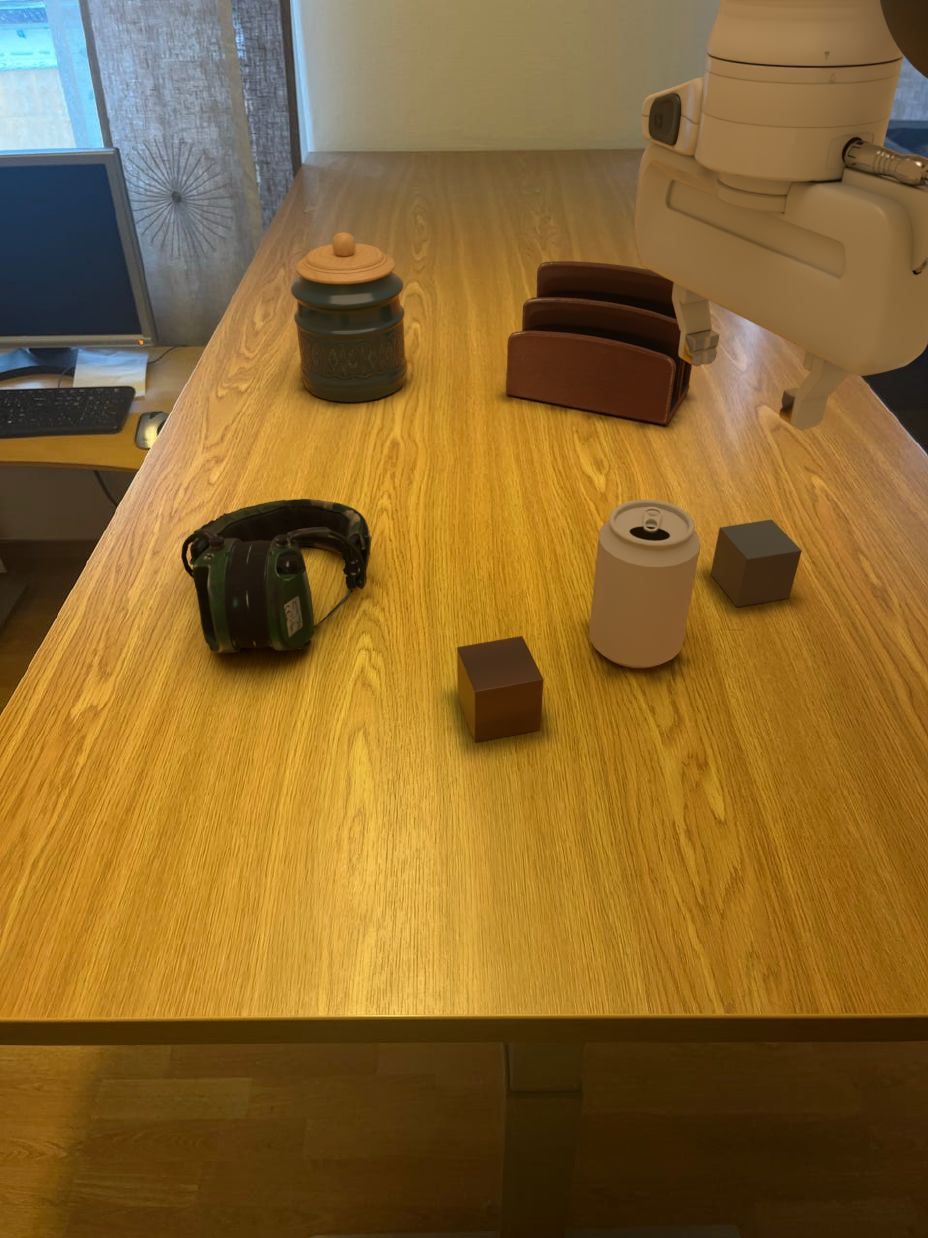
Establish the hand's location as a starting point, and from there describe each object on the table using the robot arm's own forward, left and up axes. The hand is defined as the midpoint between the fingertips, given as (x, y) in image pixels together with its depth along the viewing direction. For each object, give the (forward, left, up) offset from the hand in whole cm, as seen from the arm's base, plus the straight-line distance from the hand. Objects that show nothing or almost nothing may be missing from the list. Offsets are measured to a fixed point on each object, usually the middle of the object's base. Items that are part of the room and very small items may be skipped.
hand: (744, 390), depth 54 cm
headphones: (+26, +24, -26) cm, 43 cm away
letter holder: (+50, -22, -26) cm, 60 cm away
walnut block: (+6, +13, -26) cm, 29 cm away
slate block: (+11, -14, -26) cm, 31 cm away
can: (+8, -1, -26) cm, 27 cm away
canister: (+66, +3, -26) cm, 71 cm away
